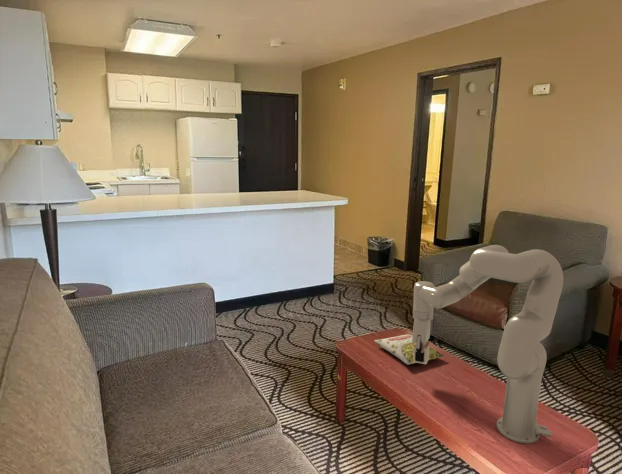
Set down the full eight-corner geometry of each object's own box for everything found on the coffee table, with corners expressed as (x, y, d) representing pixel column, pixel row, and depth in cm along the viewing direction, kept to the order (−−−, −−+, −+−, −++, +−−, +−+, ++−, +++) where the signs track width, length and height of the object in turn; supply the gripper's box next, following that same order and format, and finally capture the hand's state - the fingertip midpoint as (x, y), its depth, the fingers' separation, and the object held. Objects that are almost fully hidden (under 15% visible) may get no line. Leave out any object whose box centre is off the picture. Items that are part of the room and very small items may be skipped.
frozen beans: (408, 358, 173) (373, 334, 195) (407, 371, 174) (372, 346, 196) (446, 349, 182) (408, 328, 204) (444, 362, 183) (407, 339, 205)
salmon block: (429, 359, 165) (430, 342, 164) (426, 364, 161) (427, 347, 160) (415, 356, 168) (416, 339, 167) (412, 361, 163) (413, 344, 162)
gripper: (418, 305, 170) (416, 348, 173) (407, 319, 155) (405, 365, 158) (437, 308, 167) (435, 351, 170) (428, 323, 152) (425, 370, 155)
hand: (421, 357), depth 164 cm, fingers closed on salmon block, 5 cm apart
